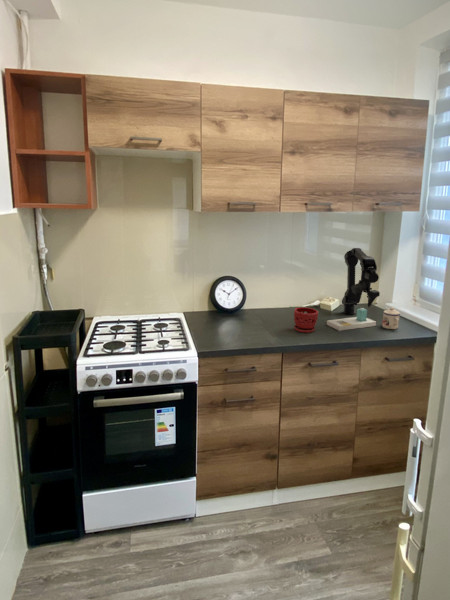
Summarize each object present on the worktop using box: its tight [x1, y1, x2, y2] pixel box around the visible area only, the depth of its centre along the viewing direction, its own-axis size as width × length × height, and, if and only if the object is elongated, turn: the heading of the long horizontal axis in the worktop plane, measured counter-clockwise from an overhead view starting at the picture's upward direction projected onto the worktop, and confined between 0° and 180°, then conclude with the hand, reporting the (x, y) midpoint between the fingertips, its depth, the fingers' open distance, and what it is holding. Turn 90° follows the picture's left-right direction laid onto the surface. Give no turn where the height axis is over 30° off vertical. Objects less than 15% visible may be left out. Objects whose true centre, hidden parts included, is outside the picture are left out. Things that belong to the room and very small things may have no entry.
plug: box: [356, 307, 368, 322], centre depth 249 cm, size 4×4×10 cm
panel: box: [326, 316, 377, 332], centre depth 247 cm, size 12×26×3 cm, turn 111°
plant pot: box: [293, 306, 319, 334], centre depth 236 cm, size 13×13×12 cm
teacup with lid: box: [382, 307, 401, 330], centre depth 242 cm, size 12×9×12 cm
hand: (363, 304), depth 247 cm, fingers open, 9 cm apart
